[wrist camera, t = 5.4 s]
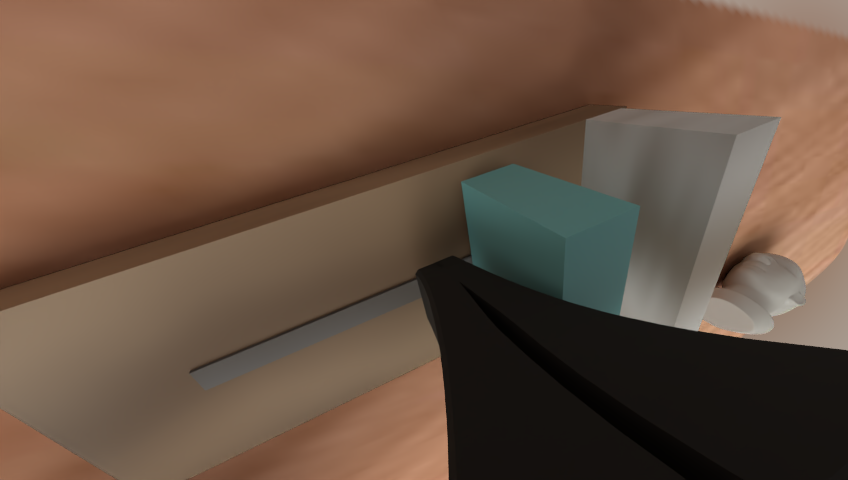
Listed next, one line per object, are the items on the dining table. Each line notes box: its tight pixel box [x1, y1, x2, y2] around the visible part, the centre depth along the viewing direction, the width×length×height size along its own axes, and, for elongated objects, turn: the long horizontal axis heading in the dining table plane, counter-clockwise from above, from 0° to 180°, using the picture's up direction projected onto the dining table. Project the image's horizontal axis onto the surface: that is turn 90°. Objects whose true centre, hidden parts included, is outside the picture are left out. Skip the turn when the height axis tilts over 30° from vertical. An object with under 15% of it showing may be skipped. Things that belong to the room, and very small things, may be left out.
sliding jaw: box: [461, 164, 640, 315], centre depth 9 cm, size 6×2×4 cm, turn 12°
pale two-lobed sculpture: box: [703, 253, 806, 334], centre depth 21 cm, size 4×8×5 cm
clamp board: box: [0, 105, 781, 480], centre depth 9 cm, size 8×19×6 cm, turn 102°
